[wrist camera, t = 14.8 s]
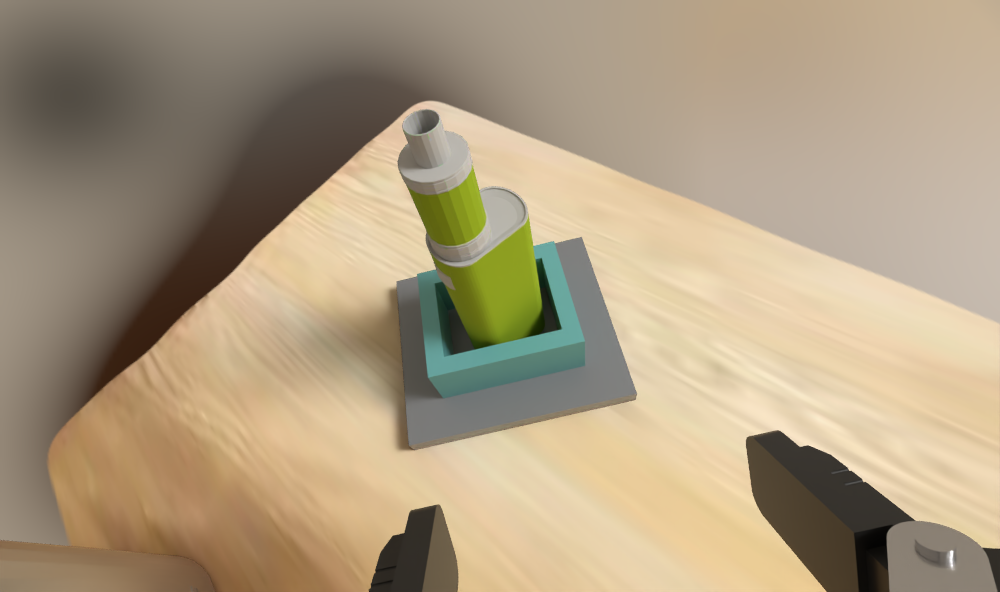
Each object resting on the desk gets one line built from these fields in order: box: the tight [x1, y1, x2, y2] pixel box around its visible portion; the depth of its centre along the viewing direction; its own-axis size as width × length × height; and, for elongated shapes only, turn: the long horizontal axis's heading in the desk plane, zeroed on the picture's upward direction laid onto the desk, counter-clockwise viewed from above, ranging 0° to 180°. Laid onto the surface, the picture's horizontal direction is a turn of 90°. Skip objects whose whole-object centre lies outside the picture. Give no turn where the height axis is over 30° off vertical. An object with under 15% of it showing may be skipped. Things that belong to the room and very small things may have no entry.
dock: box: [397, 237, 637, 450], centre depth 35 cm, size 16×14×5 cm
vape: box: [398, 109, 545, 350], centre depth 28 cm, size 4×6×20 cm, turn 130°
